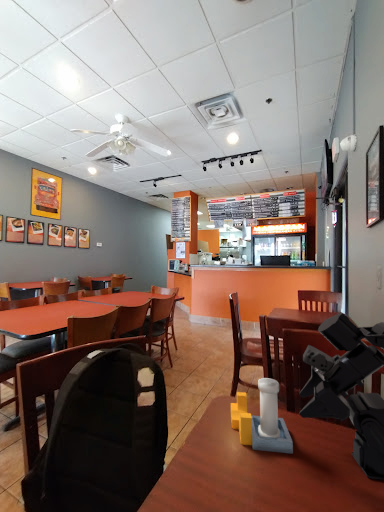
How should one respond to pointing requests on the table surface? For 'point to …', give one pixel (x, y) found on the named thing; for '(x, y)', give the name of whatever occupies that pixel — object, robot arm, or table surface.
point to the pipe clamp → (242, 419)
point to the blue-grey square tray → (271, 438)
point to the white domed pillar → (268, 408)
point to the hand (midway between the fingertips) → (300, 404)
